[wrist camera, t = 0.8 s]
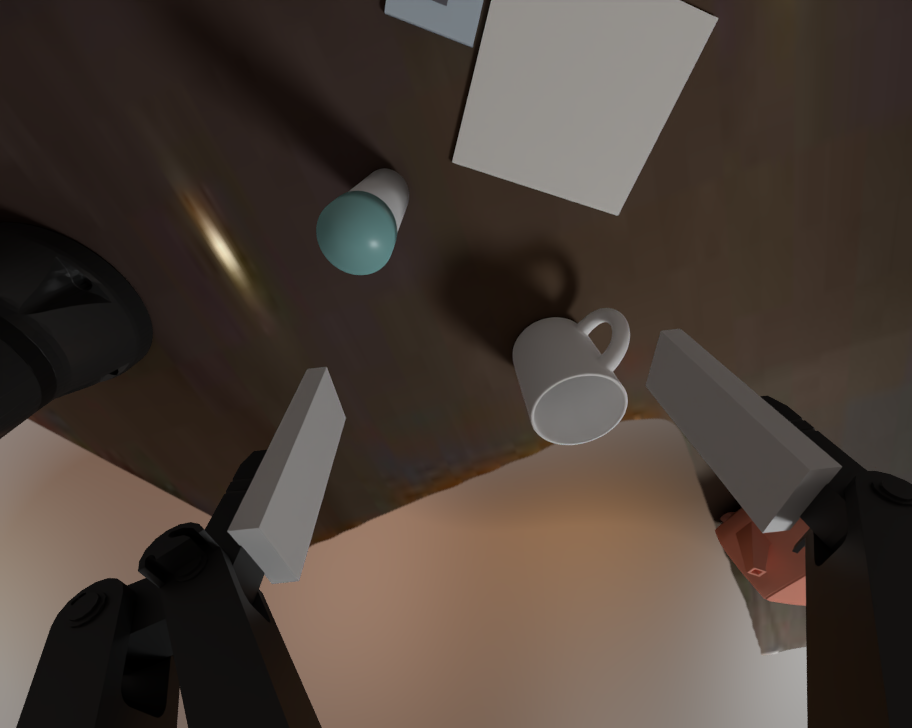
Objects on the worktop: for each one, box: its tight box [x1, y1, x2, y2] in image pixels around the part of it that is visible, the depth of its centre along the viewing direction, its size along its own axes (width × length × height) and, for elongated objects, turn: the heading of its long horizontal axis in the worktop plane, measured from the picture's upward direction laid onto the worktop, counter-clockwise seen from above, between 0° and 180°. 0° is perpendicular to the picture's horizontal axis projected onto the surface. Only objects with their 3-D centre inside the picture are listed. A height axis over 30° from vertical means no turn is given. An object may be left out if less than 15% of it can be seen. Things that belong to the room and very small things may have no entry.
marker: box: [316, 168, 409, 275], centre depth 24 cm, size 4×4×14 cm
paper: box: [452, 0, 718, 216], centre depth 26 cm, size 15×13×1 cm
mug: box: [513, 308, 630, 445], centre depth 34 cm, size 12×8×10 cm
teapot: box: [715, 508, 810, 606], centre depth 52 cm, size 22×13×14 cm, turn 74°
